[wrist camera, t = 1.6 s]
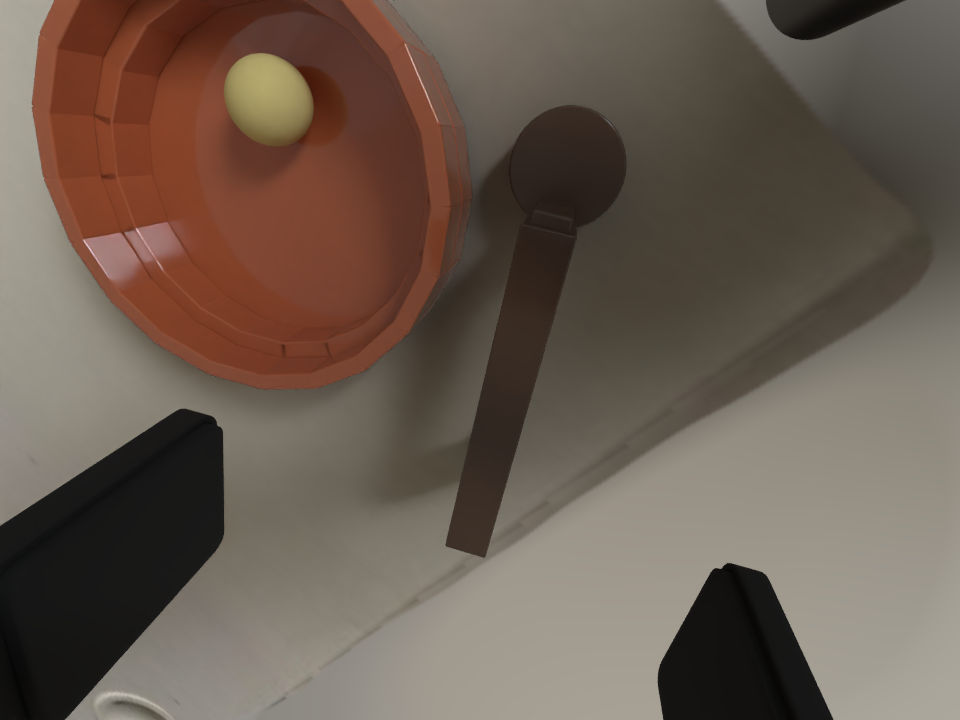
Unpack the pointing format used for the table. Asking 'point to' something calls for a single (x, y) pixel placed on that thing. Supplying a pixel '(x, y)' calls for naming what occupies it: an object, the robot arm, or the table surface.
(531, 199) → the ladle
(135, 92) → the bowl
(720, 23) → the table surface
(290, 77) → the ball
